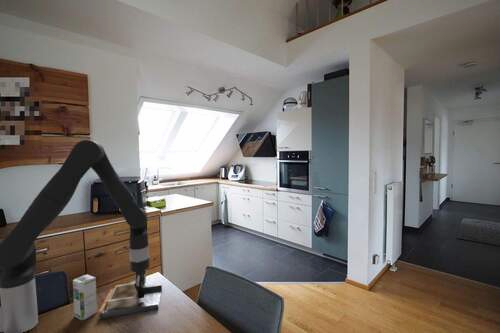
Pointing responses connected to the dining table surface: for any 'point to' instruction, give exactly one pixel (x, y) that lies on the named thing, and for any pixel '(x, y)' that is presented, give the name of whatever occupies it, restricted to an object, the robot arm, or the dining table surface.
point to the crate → (123, 297)
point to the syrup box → (84, 296)
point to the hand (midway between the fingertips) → (141, 297)
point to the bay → (144, 305)
